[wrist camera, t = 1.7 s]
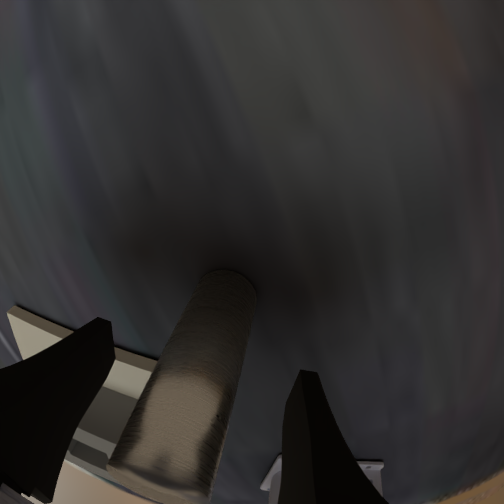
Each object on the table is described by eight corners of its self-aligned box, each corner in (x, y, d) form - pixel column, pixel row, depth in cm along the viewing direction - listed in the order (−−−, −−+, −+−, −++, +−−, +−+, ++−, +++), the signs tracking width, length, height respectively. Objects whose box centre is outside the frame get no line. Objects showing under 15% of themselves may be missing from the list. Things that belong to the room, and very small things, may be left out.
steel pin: (262, 277, 15) (214, 487, 6) (251, 326, 16) (206, 514, 7) (199, 263, 15) (96, 448, 6) (194, 313, 16) (115, 486, 7)
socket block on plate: (213, 376, 18) (192, 444, 14) (199, 473, 25) (187, 515, 21) (14, 305, 19) (-26, 343, 14) (58, 420, 26) (38, 453, 21)
